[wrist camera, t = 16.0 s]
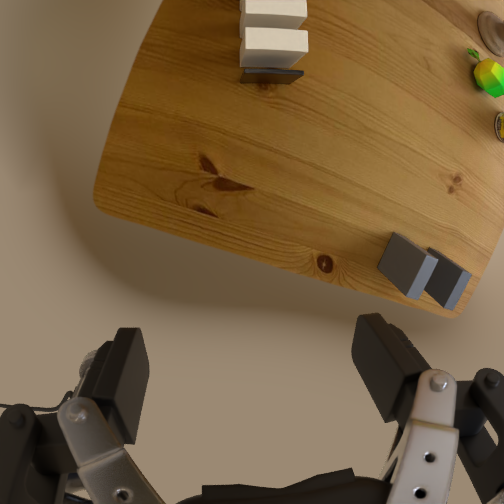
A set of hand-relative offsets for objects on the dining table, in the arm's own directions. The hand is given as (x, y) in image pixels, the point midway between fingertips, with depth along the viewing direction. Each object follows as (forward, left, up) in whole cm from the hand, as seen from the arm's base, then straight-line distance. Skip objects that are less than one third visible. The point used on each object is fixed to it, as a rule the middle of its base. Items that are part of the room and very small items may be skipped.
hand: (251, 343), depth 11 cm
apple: (+44, +6, -30) cm, 54 cm away
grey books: (+22, -19, -30) cm, 42 cm away
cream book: (+10, +14, -30) cm, 35 cm away
